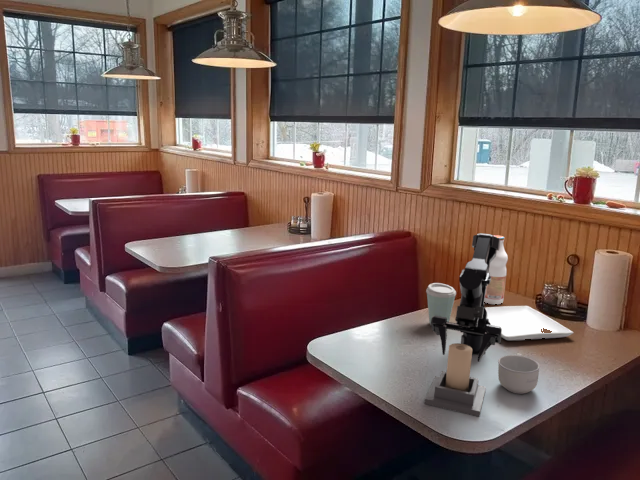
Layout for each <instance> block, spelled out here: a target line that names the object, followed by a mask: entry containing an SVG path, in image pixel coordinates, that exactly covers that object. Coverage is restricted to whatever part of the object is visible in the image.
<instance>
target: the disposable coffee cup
mask: <svg viewBox="0 0 640 480" xmlns="http://www.w3.org/2000/svg"><path fill="white" fill-rule="evenodd" d="M425 290H426V291H425V293H426V297H427V298H426V299H427V309H428V320H429V321H428V322H429V324H430V326H431V319H432V317H433V316H434V315H436V316H441V317H447V322H450V318H451V316H452V315H451V314H452V310H453V307H454V302H455V298H456V295H457V291H456V290H455V288H454V287H453V286H450V285H449V284H445V283H441V282H433V283H430V284H428V286H427V287H426V289H425Z"/></svg>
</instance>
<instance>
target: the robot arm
mask: <svg viewBox="0 0 640 480" xmlns="http://www.w3.org/2000/svg"><path fill="white" fill-rule="evenodd" d="M497 236H498V235H497ZM497 236H495V235H493V234H490V233H482V232H480V233H477V234H474V235H473V236H472V242H471V243H472V244H471V247H472V248H473V255H472V258H471V260H470V261H468V262H467V263H465V264H466V265H465V267H464V268H463V269H462V270H461V273H460V275H459V280H458V281H459V287H460V294H461V296H460V297H461V298H460V301H459V305H457V306H456V314H455V322H452V321H449V322H447V317H441V316H436V315H434V316H433V317H432V319H431V325H430V326H431V330H432V332H434V333H435V335H437V336H439V338H440V342H441V351H442V355H443V356H445V354H446V349H447V338H448V337H447V336H448V335H447V331H448V330H452V331H457V332H459V333H462V334H461V336H460V338H461V339H460V344H465V345H468V346H470V347H471V348H472V355H477V363H479V362H480V361H481V360H482V358H483V356H484V354H485V355H486V353H487V350H488V349H489V348H490V347H491V346H495V345H496V344H500V343H501V341H502V337H501V334H502V329H501V327H500V326H495V325H491V324H490V322H489V319H487V316H488V315H487V311H486V309H485V308H486V306H485V303H484V301H485V295H486V288H487V285H488V284H490V282H491V276H490V273H489V267H490V263H491V261H492V260H493V259H494V258H495V257H496V253H497V250H498V251H499V247H500V238H497Z"/></svg>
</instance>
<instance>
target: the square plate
mask: <svg viewBox="0 0 640 480" xmlns="http://www.w3.org/2000/svg"><path fill="white" fill-rule="evenodd" d="M485 309H486V311H487V315H488V316H487V319H489V322H490V324H491V325H495V326H500V327H501V329H502V334H501V339H504V340H505V341H526V340H525V339H531V340H541V339H542V338H545V339H556V338H565V337H569V336H571V335H573V334H574V331H572V330H570V329H569V328H568V327H565V326H564V325H562V323H561V324H560V322H557V321H556V320H555V319H552V318H550V317H549V316H547V315H545V314H543V313H542V312H540V311H538V310H537V309H534V308H532V307H531V306H529V305H506V306H505V305H504V306H503V305H502V306H489V307H488V306H487V307H486V306H485ZM543 328H544V329H547V330H550V331H552V332H551V333H544V332H543V333H542V332H541V329H542V331H543ZM542 340H543V339H542Z"/></svg>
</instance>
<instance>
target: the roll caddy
mask: <svg viewBox="0 0 640 480" xmlns="http://www.w3.org/2000/svg"><path fill="white" fill-rule="evenodd" d="M446 374H447V371H443V370H442V371H441V372H440V375H439V376H437V375H436V376H435V377H434V379H433V380H432V382H431V385H430V386H429V389H428V392H427V393H426V395H425V398H424V405H429V406H432V407H436V408H440V409H444V410H448V411H454V412H458V413H461V414H466V415H470V416H473V417H474V416H475V417H478V418H479V417H480V416H481V412H482V408H483V403H484V401H485V400H484V399H485V395H486V390H487V389H486V388H487V387H486V386H483V385H479V380H480V379H479V378H478V377H472V376H470V378H469V388H468V392H465V391H460V390H456V389H451V388H447V387H445V385H446Z"/></svg>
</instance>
